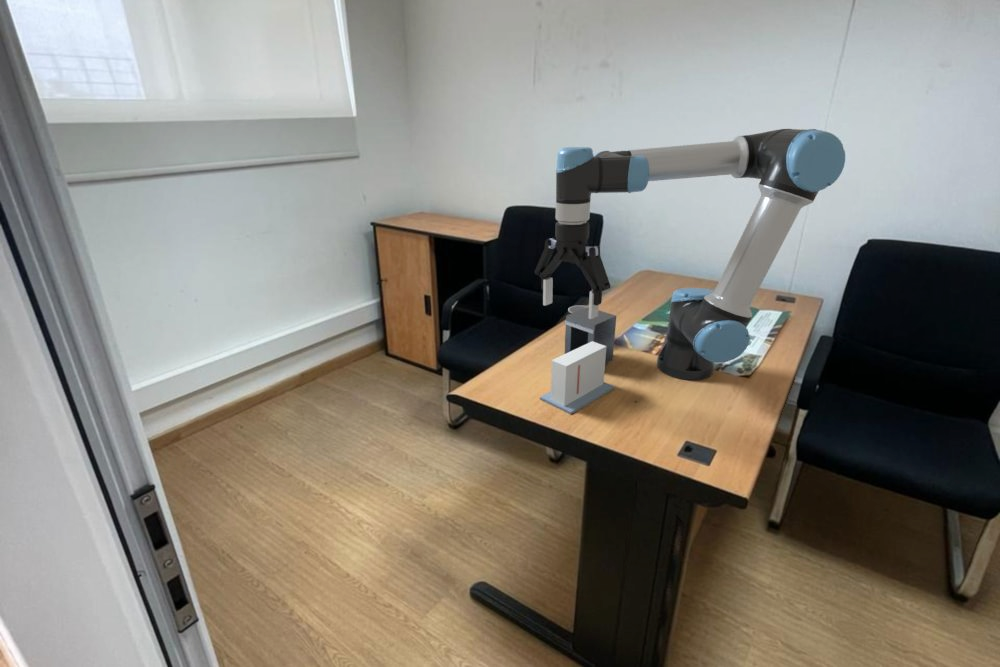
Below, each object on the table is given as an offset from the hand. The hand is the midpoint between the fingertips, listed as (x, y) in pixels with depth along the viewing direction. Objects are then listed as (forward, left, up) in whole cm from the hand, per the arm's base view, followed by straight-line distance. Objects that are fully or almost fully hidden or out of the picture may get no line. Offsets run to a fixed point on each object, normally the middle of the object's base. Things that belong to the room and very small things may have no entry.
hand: (569, 310), depth 121 cm
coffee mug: (+20, -32, -23) cm, 44 cm away
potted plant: (-15, -9, -24) cm, 30 cm away
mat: (-2, -3, -23) cm, 23 cm away
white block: (-2, -3, -23) cm, 23 cm away
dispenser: (+8, -20, -23) cm, 32 cm away
